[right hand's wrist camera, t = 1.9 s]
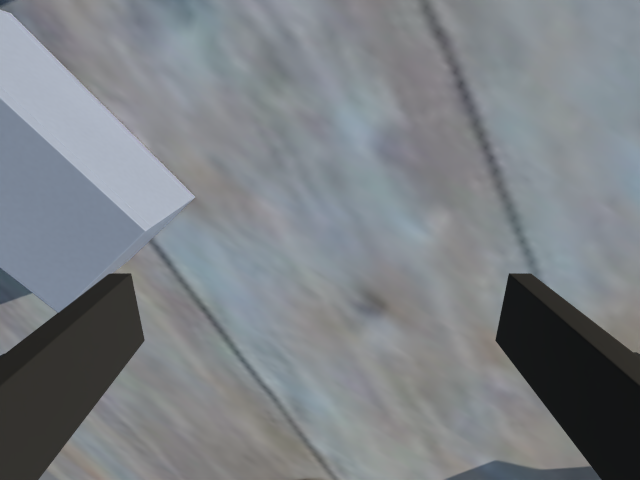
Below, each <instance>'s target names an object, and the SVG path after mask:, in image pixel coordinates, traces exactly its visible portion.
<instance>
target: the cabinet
mask: <svg viewBox="0 0 640 480" xmlns="http://www.w3.org/2000/svg"><path fill="white" fill-rule="evenodd" d="M194 198H195V196H194V195H193V194H192V193H191V192H190V191H189V190H188V189H187V188H186V187H185V186H184V185H183V184H182V183H181V182H180V181H179V180H178V179H177V178H176V177H175V176H174V175H173V174H172V173H171V172H170V171H169V170H168V169H167V168H166V167H165V166H164V165H163V164H162V163H161V162H160V161H159V160H158V159H157V158H156V157H155V156H154V155H153V154H152V153H151V152H150V151H149V150H148V149H147V148H146V147H145V146H144V145H143V144H142V143H141V142H140V141H139V140H138V139H137V138H136V137H135V136H134V135H133V134H132V133H131V132H130V131H129V130H128V129H127V128H126V127H125V126H124V125H123V124H122V123H121V122H120V121H119V120H118V119H117V118H116V117H115V116H114V115H113V114H112V113H111V112H110V111H109V110H108V109H107V108H106V107H105V106H104V105H103V104H101V103H100V102H99V101H98V100H97V99H96V98H95V97H94V96H93V95H92V94H91V93H90V92H89V91H88V90H87V89H86V88H85V87H84V86H83V85H82V84H81V83H80V82H79V81H78V80H77V79H76V78H75V77H74V76H73V75H72V74H71V73H70V72H69V71H68V70H67V69H66V68H65V67H64V66H63V65H62V64H61V63H60V62H59V61H58V60H57V59H56V58H55V57H54V56H53V55H52V54H51V53H50V52H49V51H48V50H47V49H46V48H45V47H44V46H43V45H42V44H41V43H40V42H39V41H38V40H37V39H36V38H35V37H34V36H33V35H32V34H31V33H30V32H29V31H28V30H27V29H26V28H25V27H24V26H23V25H22V24H21V23H20V22H19V21H18V20H17V19H16V18H15V17H14V16H13V15H12V14H11V13H9V12H6V11H2V10H0V268H1V269H2V270H4V271H5V272H6V273H8V274H9V275H10V276H11V277H13V278H14V279H15V280H17V281H18V282H19V283H20V284H22V285H23V286H24V287H26V288H27V289H28V290H29V291H31V292H32V293H33V294H35V295H36V296H37V297H38V298H40V299H41V300H42V301H44V302H45V303H46V304H47V305H49V306H50V307H51V308H53V309H54V310H55V311H56V312H58V313H59V312H60V311H61V310H63V309H64V308H65V307H66V306H68V305H69V304H70V303H72V302H73V301H74V300H76V299H77V298H78V297H79V296H81V295H82V294H83V293H85V292H86V291H87V290H88V289H90V288H91V287H92V286H94V285H95V284H96V283H98V282H99V281H100V280H101V279H103V278H104V277H105V276H107V275H108V274H112V273H113V272H114V271H116V270H117V269H118V268H120V267H121V266H122V265H123V264H125V263H126V262H127V261H129V260H130V259H131V258H132V257H133V256H134V255H135V254H136V253H137V252H138V251H139V250H140V249H141V248H142V247H143V246H145V245H146V244H147V243H148V242H149V241H150V240H151V239H152V238H153V237H154V236H155V235H156V234H157V233H158V232H159V231H160V230H161V229H162V228H164V227H165V226H166V225H167V224H168V223H169V222H170V221H171V220H172V219H173V218H174V217H175V216H176V215H177V214H178V213H179V212H180V211H181V210H182V209H184V208H185V207H186V206H187V205H188V204H189V203H190V202H191V201H192V200H193V199H194Z"/></svg>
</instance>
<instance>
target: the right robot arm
mask: <svg viewBox="0 0 640 480" xmlns="http://www.w3.org/2000/svg"><path fill="white" fill-rule="evenodd" d="M143 342H144V336H143V331H142V326H141V321H140V316H139V311H138V306H137V301H136V296H135V291H134V286H133V281H132V276H131V274H108V275H107V276H105V277H104V278H103V279H101V280H100V281H99V282H98V283H96V284H95V285H94V286H92V287H91V288H90V289H88V290H87V291H86V292H85V293H83V294H82V295H81V296H79V297H78V298H77V299H76V300H74V301H73V302H72V303H70V304H69V305H68V306H66V307H65V308H64V309H63V310H61V311H60V312H59V313H57V314H56V315H55V316H54V317H52V318H51V319H50V320H48V321H47V322H46V323H44V324H43V325H42V326H41V327H39V328H38V329H37V330H35V331H34V332H33V333H32V334H30V335H29V336H28V337H26V338H25V339H24V340H22V341H21V342H20V343H19V344H17V345H16V346H15V347H13V348H12V349H11V350H10V351H8V352H7V353H6V354H3V355H1V356H0V480H38V479H39V478H40V477H41V475H42V474H43V473H44V471H45V470H46V469H47V468H48V466H49V465H50V464H51V462H52V461H53V460H54V458H55V457H56V456H57V454H58V453H59V452H60V451H61V449H62V448H63V447H64V445H65V444H66V443H67V441H68V440H69V439H70V437H71V436H72V435H73V434H74V432H75V431H76V430H77V428H78V427H79V426H80V424H81V423H82V422H83V420H84V419H85V418H86V416H87V415H88V414H89V413H90V411H91V410H92V409H93V407H94V406H95V405H96V403H97V402H98V401H99V399H100V398H101V397H102V396H103V394H104V393H105V392H106V390H107V389H108V388H109V386H110V385H111V384H112V382H113V381H114V380H115V378H116V377H117V376H118V375H119V373H120V372H121V371H122V369H123V368H124V367H125V365H126V364H127V363H128V361H129V360H130V359H131V358H132V356H133V355H134V354H135V352H136V351H137V350H138V348H139V347H140V346H141V344H142V343H143ZM496 342H497V343H498V344H499V346H500V347H501V348H502V350H503V351H504V352H505V354H506V355H507V356H508V358H509V359H510V360H511V361H512V363H513V364H514V365H515V367H516V368H517V369H518V371H519V372H520V373H521V375H522V376H523V377H524V378H525V380H526V381H527V382H528V384H529V385H530V386H531V388H532V389H533V390H534V392H535V393H536V394H537V396H538V397H539V398H540V399H541V401H542V402H543V403H544V405H545V406H546V407H547V409H548V410H549V411H550V413H551V414H552V415H553V416H554V418H555V419H556V420H557V422H558V423H559V424H560V426H561V427H562V428H563V430H564V431H565V432H566V434H567V435H568V436H569V437H570V439H571V440H572V441H573V443H574V444H575V445H576V447H577V448H578V449H579V451H580V452H581V453H582V454H583V456H584V457H585V458H586V460H587V461H588V462H589V464H590V465H591V466H592V468H593V469H594V470H595V471H596V473H597V474H598V475H599V477H600V478H601V479H602V480H640V354H638V353H633V352H632V351H630V350H629V349H628V348H627V347H625V346H624V345H623V344H621V343H620V342H619V341H618V340H616V339H615V338H614V337H612V336H611V335H610V334H608V333H607V332H606V331H605V330H603V329H602V328H601V327H599V326H598V325H597V324H596V323H594V322H593V321H592V320H590V319H589V318H588V317H586V316H585V315H584V314H583V313H581V312H580V311H579V310H577V309H576V308H575V307H574V306H572V305H571V304H570V303H568V302H567V301H566V300H564V299H563V298H562V297H561V296H559V295H558V294H557V293H555V292H554V291H553V290H552V289H550V288H549V287H548V286H546V285H545V284H544V283H542V282H541V281H540V280H539V279H537V278H536V277H535V276H533V275H532V274H509V276H508V281H507V286H506V291H505V296H504V301H503V306H502V311H501V316H500V321H499V326H498V331H497V336H496Z"/></svg>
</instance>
